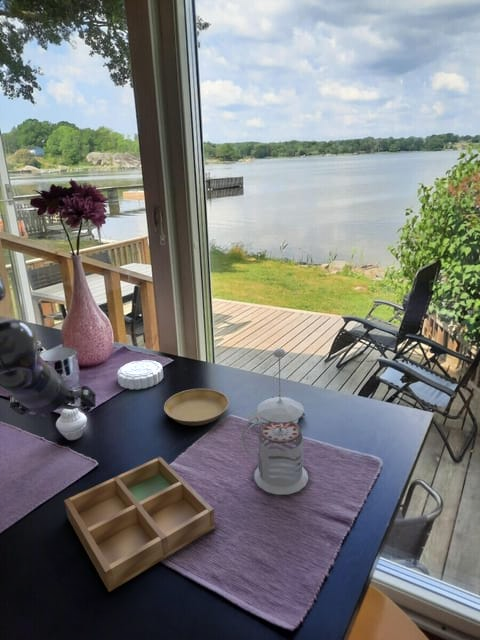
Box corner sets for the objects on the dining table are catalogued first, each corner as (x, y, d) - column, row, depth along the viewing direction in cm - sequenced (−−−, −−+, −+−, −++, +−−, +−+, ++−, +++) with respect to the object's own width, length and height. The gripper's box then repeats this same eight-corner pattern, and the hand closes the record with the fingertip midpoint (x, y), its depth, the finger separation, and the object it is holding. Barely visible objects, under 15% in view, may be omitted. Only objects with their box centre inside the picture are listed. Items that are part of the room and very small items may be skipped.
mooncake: (165, 368, 125) (164, 357, 124) (160, 388, 114) (159, 376, 112) (123, 371, 125) (121, 359, 123) (113, 391, 113) (112, 378, 112)
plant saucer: (187, 393, 111) (186, 383, 110) (240, 404, 104) (239, 394, 104) (151, 423, 98) (150, 412, 97) (209, 437, 92) (208, 427, 91)
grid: (109, 592, 59) (105, 572, 58) (67, 518, 72) (63, 500, 71) (215, 527, 69) (214, 509, 68) (162, 472, 82) (160, 456, 81)
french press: (315, 490, 76) (318, 357, 68) (249, 500, 74) (244, 365, 66) (299, 455, 85) (299, 335, 77) (240, 464, 83) (234, 341, 75)
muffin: (91, 426, 98) (86, 398, 96) (86, 442, 92) (81, 413, 90) (62, 430, 97) (56, 402, 95) (55, 446, 91) (49, 416, 89)
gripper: (81, 361, 77) (101, 389, 92) (-4, 369, 76) (30, 396, 90) (80, 402, 74) (101, 425, 89) (-10, 412, 73) (27, 433, 87)
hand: (65, 410), depth 89 cm, fingers open, 8 cm apart
